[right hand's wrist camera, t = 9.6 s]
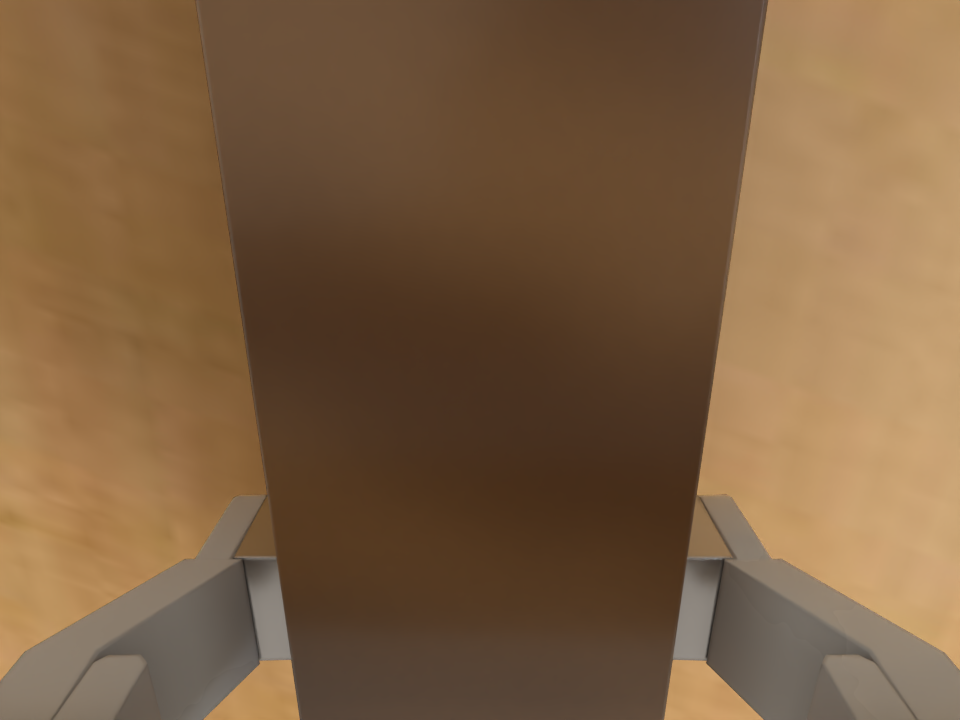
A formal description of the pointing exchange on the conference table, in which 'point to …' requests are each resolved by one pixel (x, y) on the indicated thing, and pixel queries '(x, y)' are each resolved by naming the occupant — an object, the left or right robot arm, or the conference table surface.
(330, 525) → the beam
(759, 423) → the conference table surface
